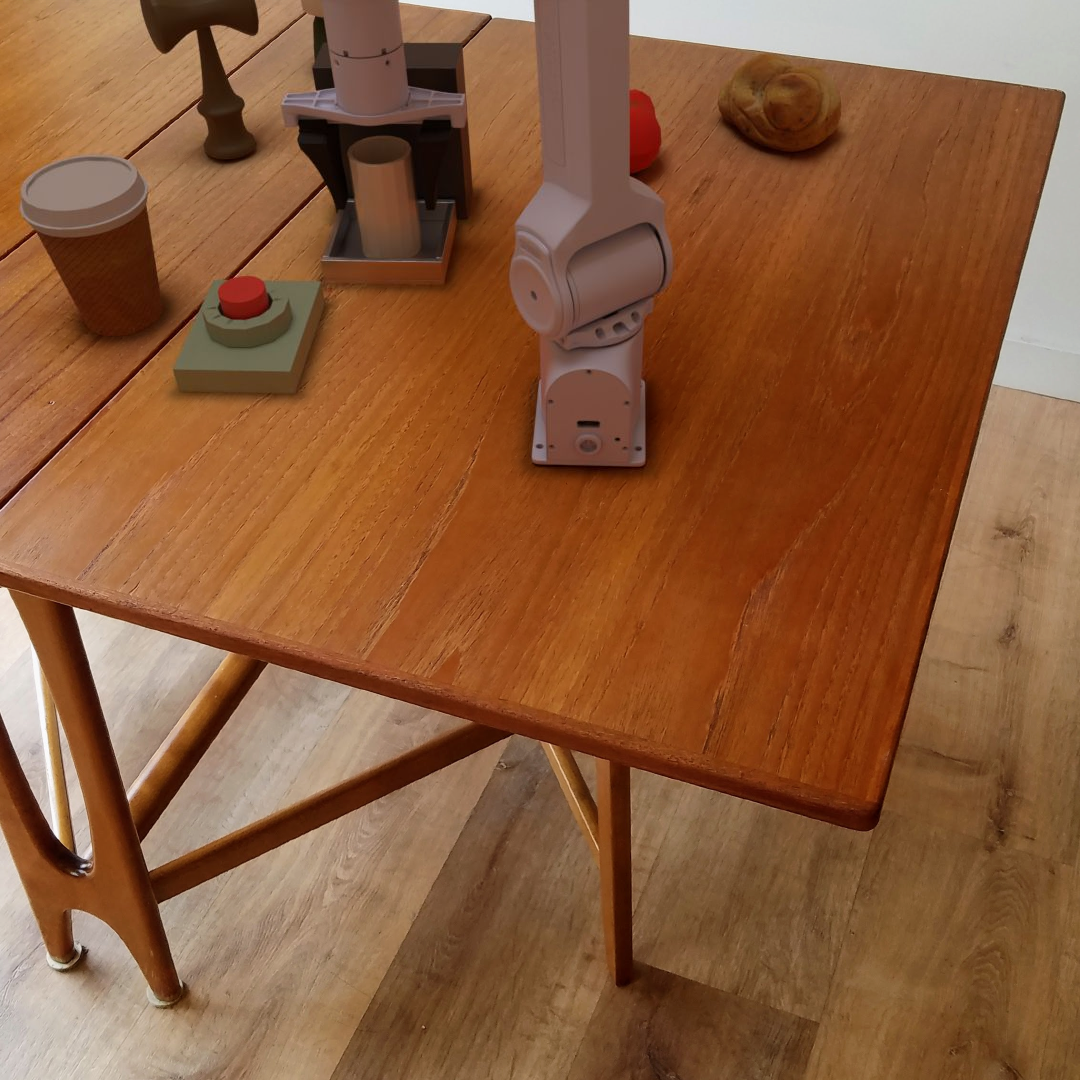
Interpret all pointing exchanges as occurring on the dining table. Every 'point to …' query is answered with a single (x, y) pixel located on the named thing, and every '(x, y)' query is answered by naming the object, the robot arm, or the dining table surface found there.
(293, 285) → the switch block
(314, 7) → the character mug
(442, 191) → the coffee machine
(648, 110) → the tomato
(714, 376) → the dining table surface
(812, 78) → the bread roll
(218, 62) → the kendama
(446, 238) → the pan
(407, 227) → the beige hollow cylinder
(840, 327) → the dining table surface
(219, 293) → the button
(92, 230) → the disposable coffee cup
